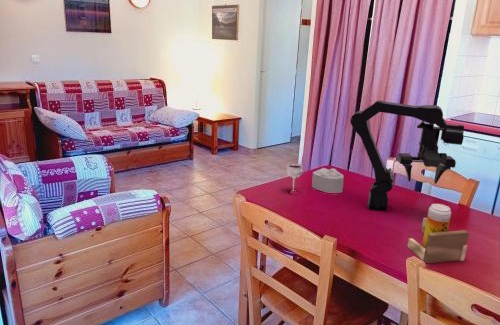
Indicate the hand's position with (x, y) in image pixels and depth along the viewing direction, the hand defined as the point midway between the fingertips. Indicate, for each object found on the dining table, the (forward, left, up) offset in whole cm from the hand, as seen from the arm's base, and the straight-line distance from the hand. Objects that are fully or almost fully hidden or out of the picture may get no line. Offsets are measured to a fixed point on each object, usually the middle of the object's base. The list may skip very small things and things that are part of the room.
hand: (422, 182), depth 141 cm
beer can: (-3, -28, -13) cm, 31 cm away
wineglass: (-47, +13, -13) cm, 51 cm away
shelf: (-4, -24, -13) cm, 28 cm away
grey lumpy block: (-32, +20, -13) cm, 40 cm away
